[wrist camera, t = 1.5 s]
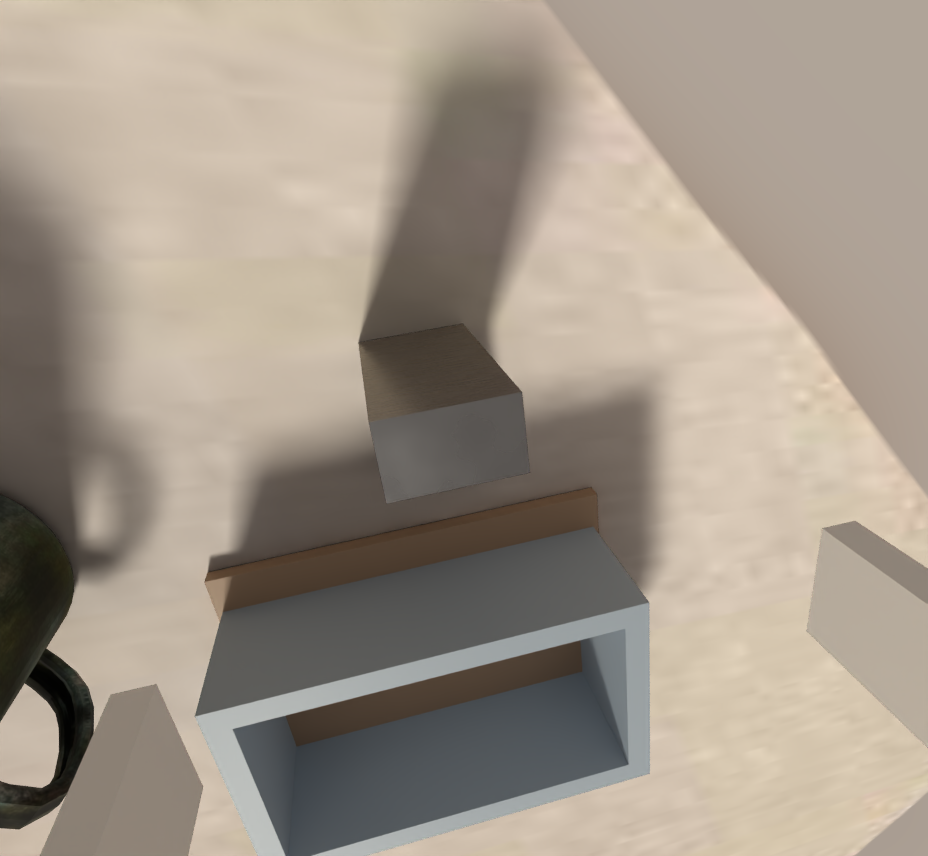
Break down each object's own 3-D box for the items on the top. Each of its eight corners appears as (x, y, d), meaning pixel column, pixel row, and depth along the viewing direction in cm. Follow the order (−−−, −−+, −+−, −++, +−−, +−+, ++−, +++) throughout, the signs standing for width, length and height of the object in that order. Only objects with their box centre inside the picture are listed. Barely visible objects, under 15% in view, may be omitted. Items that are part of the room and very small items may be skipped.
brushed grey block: (358, 342, 28) (368, 422, 19) (462, 323, 28) (522, 391, 19) (384, 464, 30) (404, 586, 21) (479, 445, 31) (537, 555, 22)
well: (207, 572, 31) (171, 682, 24) (591, 487, 33) (655, 565, 26) (286, 777, 37) (274, 908, 30) (601, 692, 40) (654, 796, 33)
